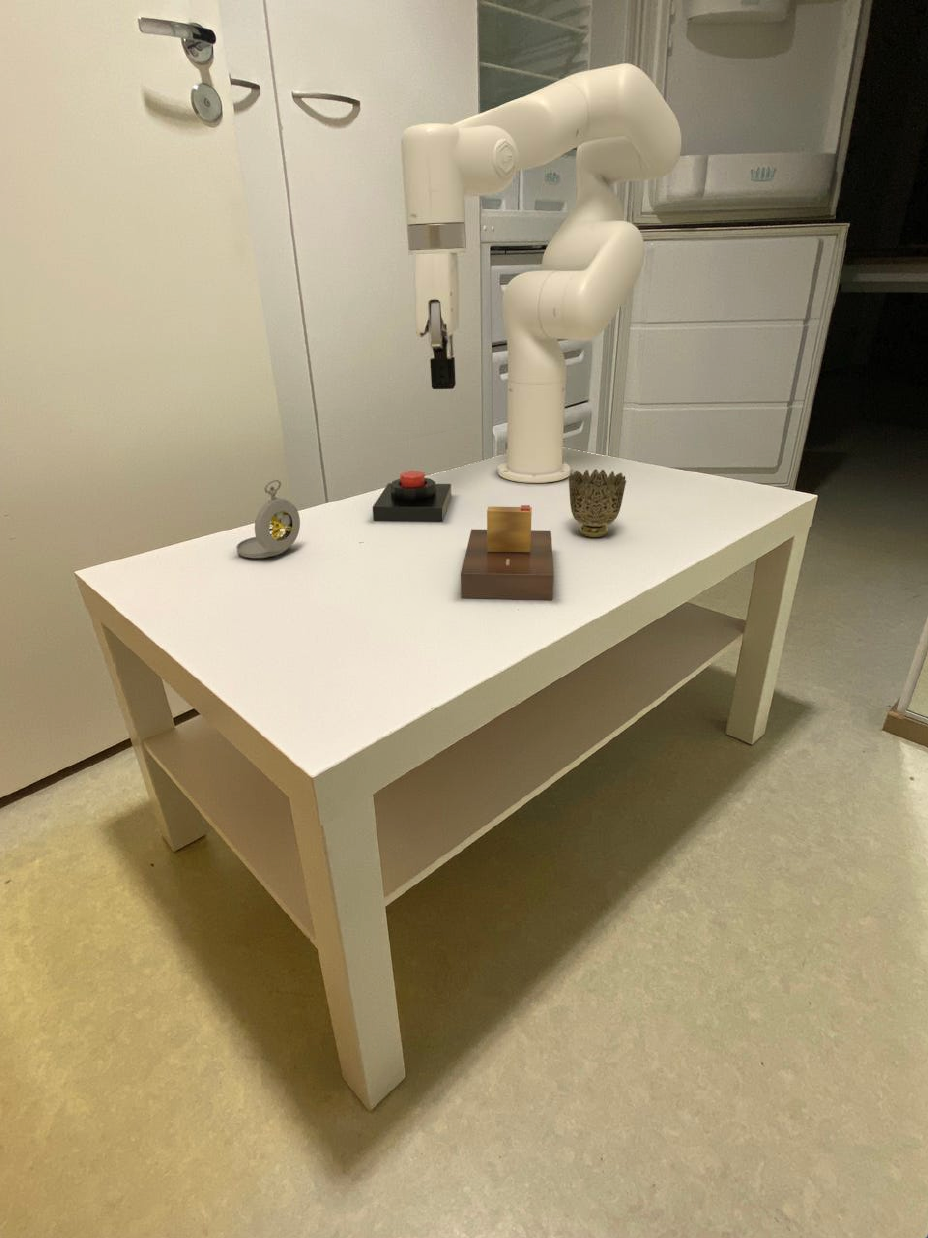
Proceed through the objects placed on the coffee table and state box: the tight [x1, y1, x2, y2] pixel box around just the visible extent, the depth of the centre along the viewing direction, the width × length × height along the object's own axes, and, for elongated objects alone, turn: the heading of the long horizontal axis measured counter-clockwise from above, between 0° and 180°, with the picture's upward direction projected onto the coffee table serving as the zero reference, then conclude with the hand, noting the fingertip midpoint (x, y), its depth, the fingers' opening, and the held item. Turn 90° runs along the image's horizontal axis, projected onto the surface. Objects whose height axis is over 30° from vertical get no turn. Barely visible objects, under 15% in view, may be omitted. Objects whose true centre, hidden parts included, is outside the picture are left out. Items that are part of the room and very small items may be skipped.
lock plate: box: [460, 529, 554, 601], centre depth 83 cm, size 14×10×3 cm
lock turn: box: [486, 504, 533, 553], centre depth 81 cm, size 5×2×5 cm, turn 84°
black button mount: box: [372, 477, 452, 523], centre depth 105 cm, size 12×10×4 cm
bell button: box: [399, 470, 426, 487], centre depth 104 cm, size 4×4×2 cm
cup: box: [568, 469, 627, 538], centre depth 93 cm, size 8×7×8 cm
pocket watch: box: [235, 479, 301, 559], centre depth 88 cm, size 8×8×10 cm
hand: (443, 387), depth 99 cm, fingers closed
